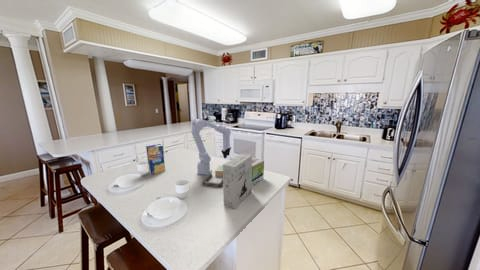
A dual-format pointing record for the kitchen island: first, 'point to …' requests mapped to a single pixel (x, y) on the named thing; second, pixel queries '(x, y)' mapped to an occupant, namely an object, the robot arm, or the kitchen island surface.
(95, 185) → the kitchen island surface
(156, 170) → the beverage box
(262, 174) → the tea box
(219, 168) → the kraft carton
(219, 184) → the shallow grey tray
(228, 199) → the cereal box
